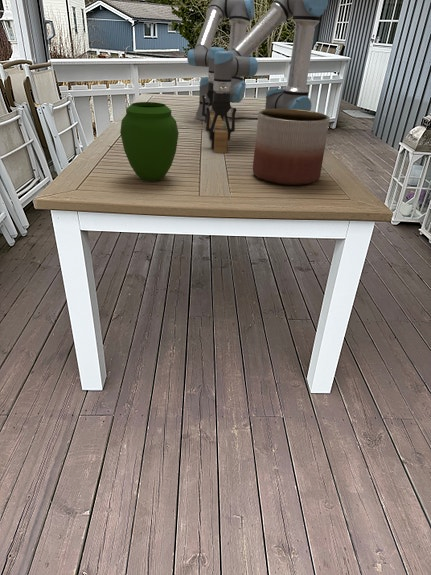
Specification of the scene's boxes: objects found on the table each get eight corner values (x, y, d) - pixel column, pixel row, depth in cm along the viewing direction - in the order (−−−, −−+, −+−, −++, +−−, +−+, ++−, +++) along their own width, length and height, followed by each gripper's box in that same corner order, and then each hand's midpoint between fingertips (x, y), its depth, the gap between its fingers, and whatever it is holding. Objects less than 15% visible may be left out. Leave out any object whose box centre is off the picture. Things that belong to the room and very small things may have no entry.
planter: (329, 187, 147) (342, 121, 135) (261, 187, 143) (268, 120, 131) (305, 166, 168) (314, 109, 156) (245, 167, 164) (250, 107, 152)
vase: (131, 189, 135) (125, 110, 122) (118, 172, 150) (112, 100, 137) (186, 184, 142) (187, 109, 129) (169, 168, 157) (167, 99, 144)
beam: (207, 127, 228) (208, 110, 223) (217, 128, 228) (218, 111, 223) (214, 152, 182) (215, 132, 177) (226, 152, 182) (228, 132, 178)
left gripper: (197, 82, 205) (196, 130, 217) (234, 83, 206) (231, 131, 219) (197, 80, 211) (196, 128, 223) (232, 82, 213) (229, 129, 225)
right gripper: (200, 92, 172) (199, 148, 185) (244, 94, 174) (240, 149, 186) (200, 90, 179) (199, 144, 191) (242, 91, 180) (238, 145, 193)
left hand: (213, 129), depth 221 cm, fingers closed on beam, 5 cm apart
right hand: (219, 147), depth 189 cm, fingers closed on beam, 5 cm apart
